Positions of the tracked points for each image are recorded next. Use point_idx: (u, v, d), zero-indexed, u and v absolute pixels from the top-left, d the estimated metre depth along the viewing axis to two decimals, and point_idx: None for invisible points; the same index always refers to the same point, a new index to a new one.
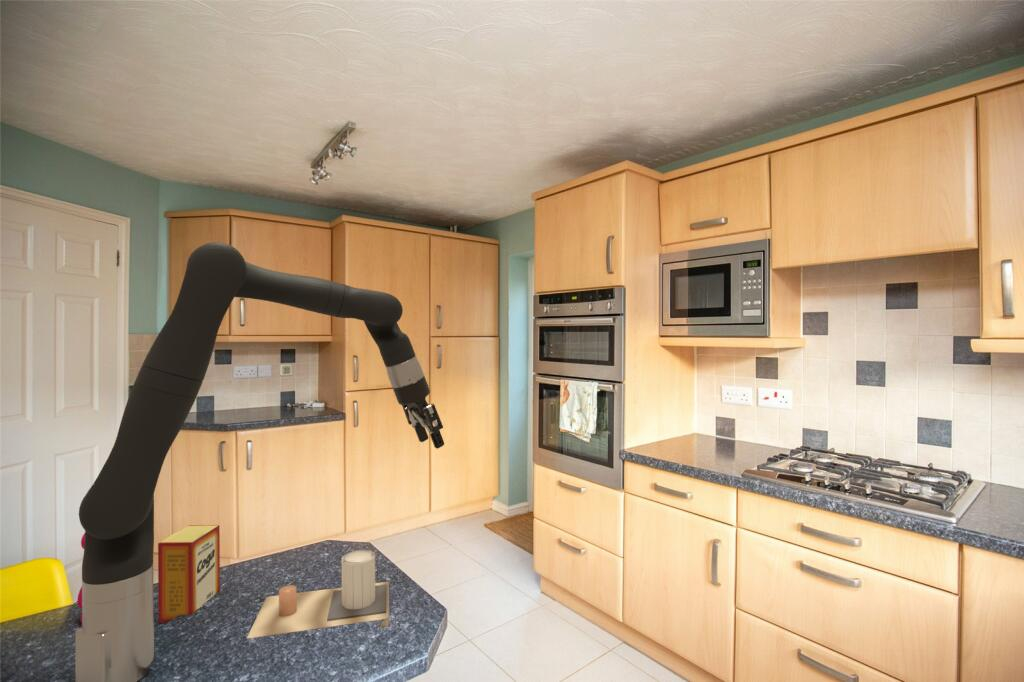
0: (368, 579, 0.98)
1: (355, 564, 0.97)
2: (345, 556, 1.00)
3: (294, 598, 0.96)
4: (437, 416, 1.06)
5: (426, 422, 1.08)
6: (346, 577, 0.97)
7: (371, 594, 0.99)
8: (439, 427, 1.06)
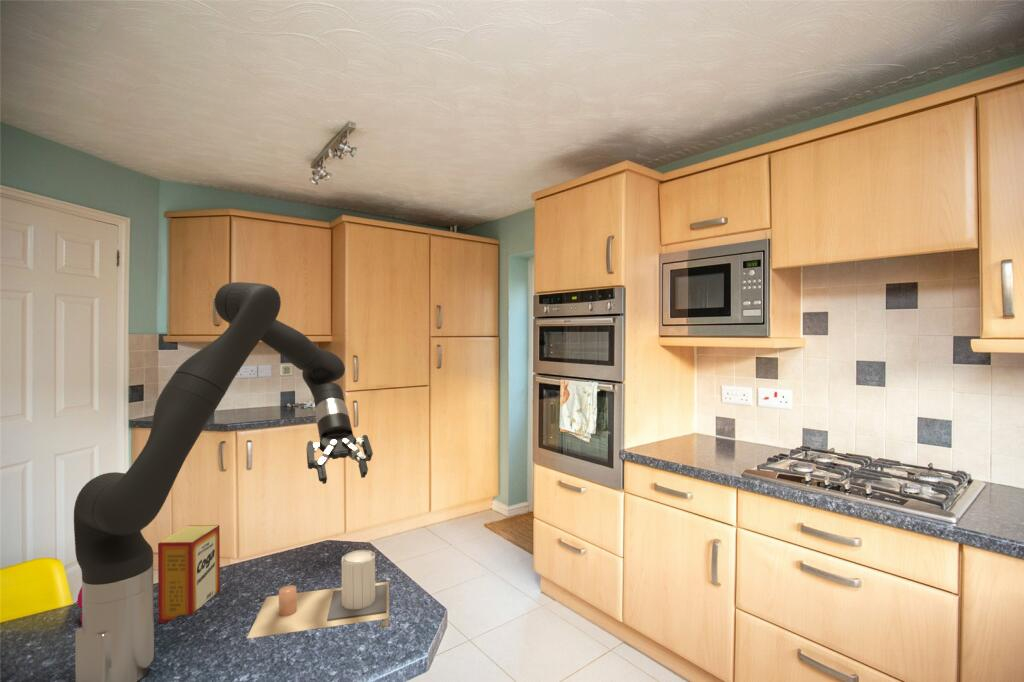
0: (368, 579, 0.98)
1: (355, 564, 0.97)
2: (345, 556, 1.00)
3: (294, 598, 0.96)
4: None
5: None
6: (346, 577, 0.97)
7: (371, 594, 0.99)
8: None
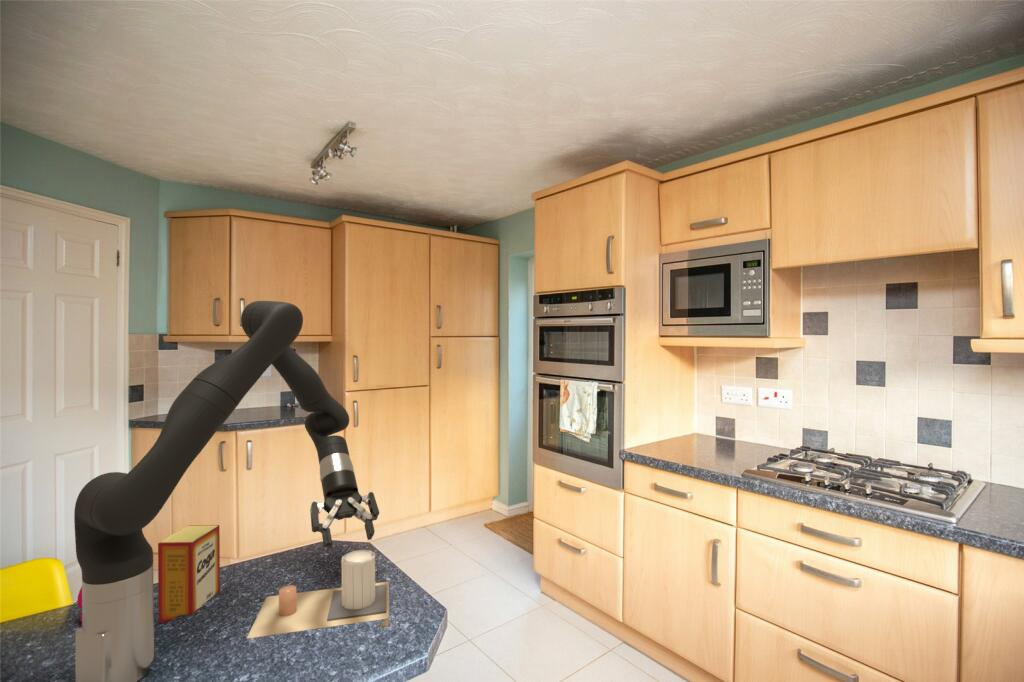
0: (368, 579, 0.98)
1: (355, 564, 0.97)
2: (345, 556, 1.00)
3: (294, 598, 0.96)
4: None
5: None
6: (346, 577, 0.97)
7: (371, 594, 0.99)
8: None
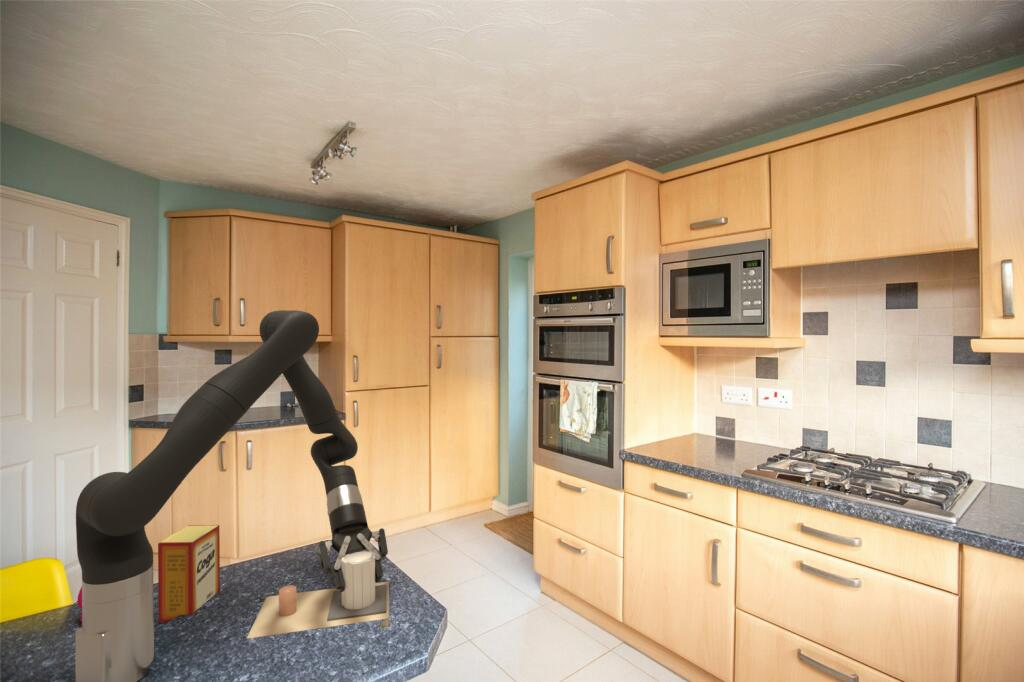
0: (368, 579, 0.98)
1: (355, 564, 0.97)
2: (345, 556, 1.00)
3: (294, 598, 0.96)
4: None
5: None
6: (346, 577, 0.97)
7: (371, 594, 0.99)
8: None
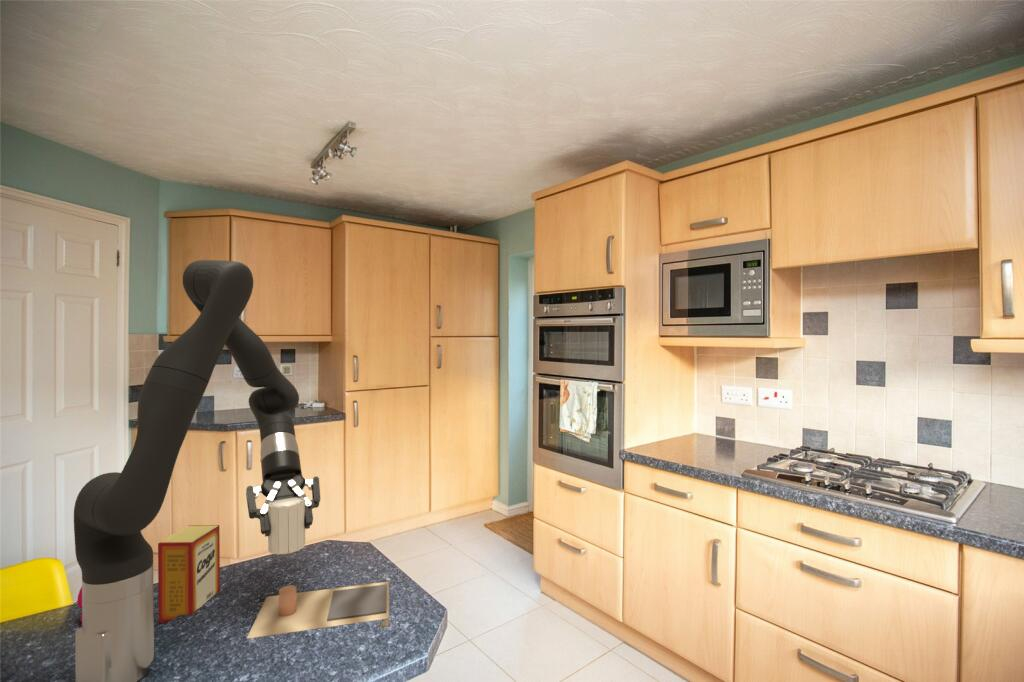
0: (295, 523, 0.95)
1: (280, 507, 0.94)
2: (273, 501, 0.97)
3: (294, 598, 0.96)
4: None
5: None
6: (272, 521, 0.94)
7: (299, 540, 0.96)
8: None
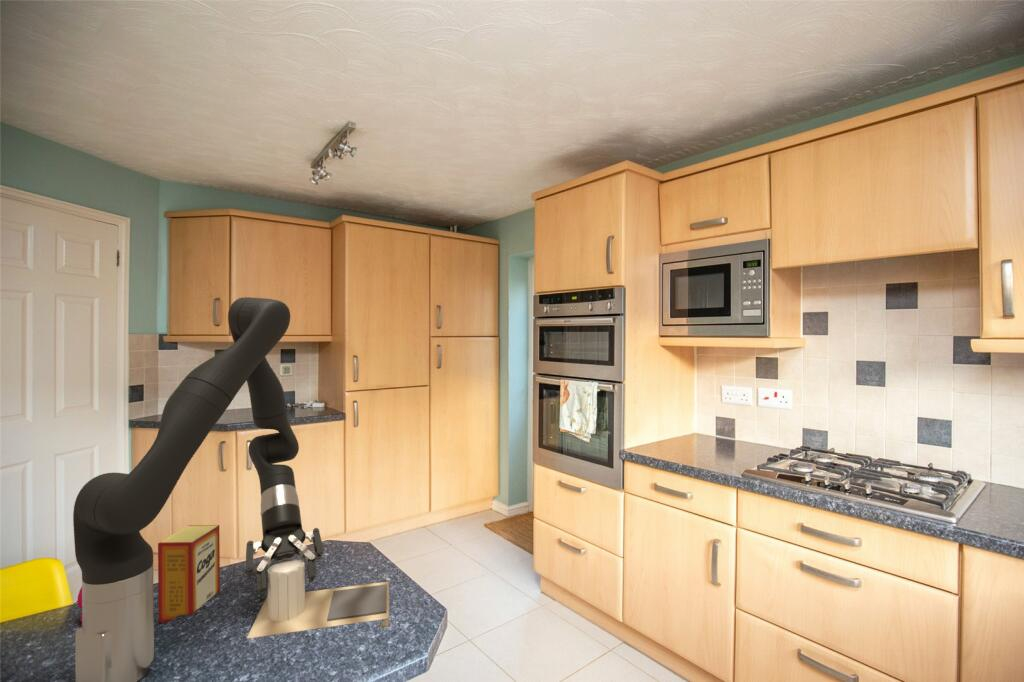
0: (295, 589, 0.95)
1: (280, 574, 0.94)
2: (273, 566, 0.97)
3: None
4: None
5: None
6: (271, 588, 0.94)
7: (298, 605, 0.96)
8: None
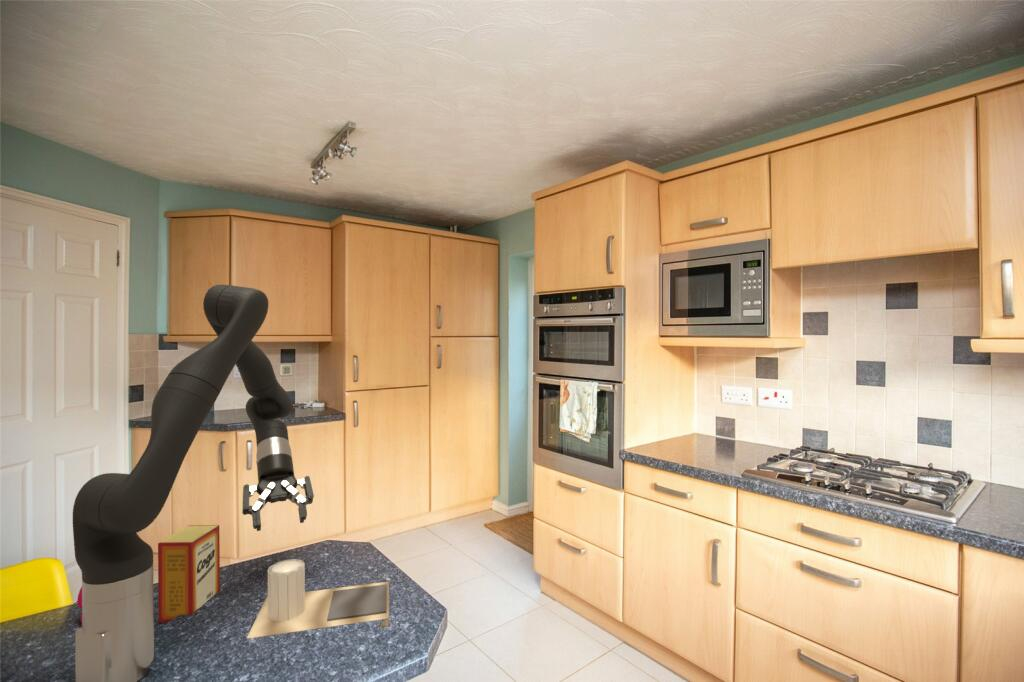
0: (295, 589, 0.95)
1: (280, 574, 0.94)
2: (273, 566, 0.97)
3: None
4: None
5: None
6: (271, 588, 0.94)
7: (298, 605, 0.96)
8: None
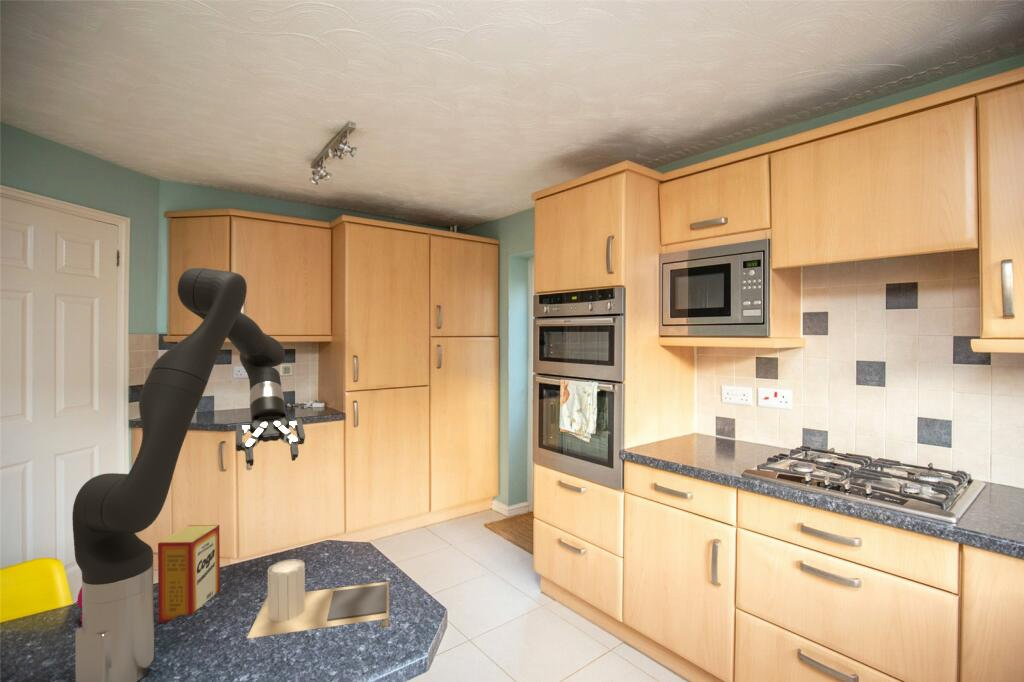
0: (295, 589, 0.95)
1: (280, 574, 0.94)
2: (273, 566, 0.97)
3: None
4: None
5: None
6: (271, 588, 0.94)
7: (298, 605, 0.96)
8: None
